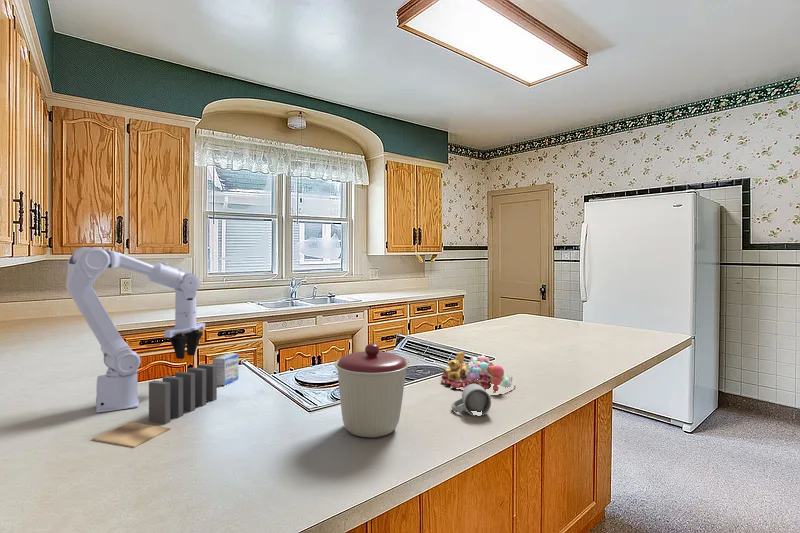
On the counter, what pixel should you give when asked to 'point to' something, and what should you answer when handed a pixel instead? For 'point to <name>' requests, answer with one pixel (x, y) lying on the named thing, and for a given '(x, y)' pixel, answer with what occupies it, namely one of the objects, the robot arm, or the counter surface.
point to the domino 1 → (159, 402)
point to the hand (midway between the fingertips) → (185, 356)
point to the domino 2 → (175, 395)
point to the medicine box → (226, 368)
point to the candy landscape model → (475, 373)
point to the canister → (371, 391)
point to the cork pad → (131, 434)
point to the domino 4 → (199, 385)
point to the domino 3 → (188, 390)
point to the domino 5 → (210, 381)
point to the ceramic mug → (473, 400)
